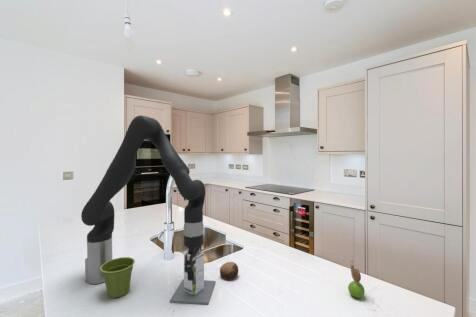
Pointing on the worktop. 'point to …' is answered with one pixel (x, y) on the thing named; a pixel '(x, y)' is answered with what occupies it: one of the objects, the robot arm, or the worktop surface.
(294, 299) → the worktop surface
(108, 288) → the plant pot
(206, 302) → the slate pad
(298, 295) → the worktop surface
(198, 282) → the syrup box
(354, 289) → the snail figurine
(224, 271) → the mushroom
